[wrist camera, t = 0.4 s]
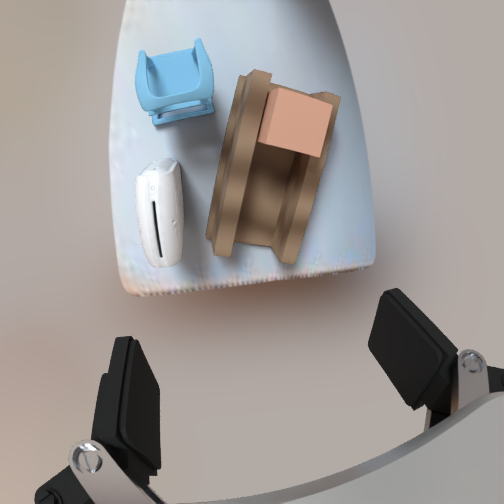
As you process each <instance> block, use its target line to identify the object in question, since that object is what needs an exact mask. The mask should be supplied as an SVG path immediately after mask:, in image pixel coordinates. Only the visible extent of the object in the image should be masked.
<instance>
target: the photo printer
mask: <svg viewBox="0 0 504 504" xmlns="http://www.w3.org/2000/svg"><path fill="white" fill-rule="evenodd" d="M135 199H136V211H137V220H138V226H139V232H140V237H141V242H142V246H143V250H144V253H145V256H146V258H147V260H148V262H149V264H150V265H151V266H153V267H156V268H160V267H171V266H173V265H175V264H177V263H178V262H179V261H180V260H181V256H182V247H183V229H184V208H183V194H182V181H181V171H180V166H179V162H178V160H177V161H175V160H173V159H171V158H167V157H164V158H160V159H158V160H157V161H155V162H154V163H150V164H149V165H148V166H146V167H145V168H144V169H143V170H142V171H141V172H140V173H139V174H137V177H136V184H135Z"/></svg>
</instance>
